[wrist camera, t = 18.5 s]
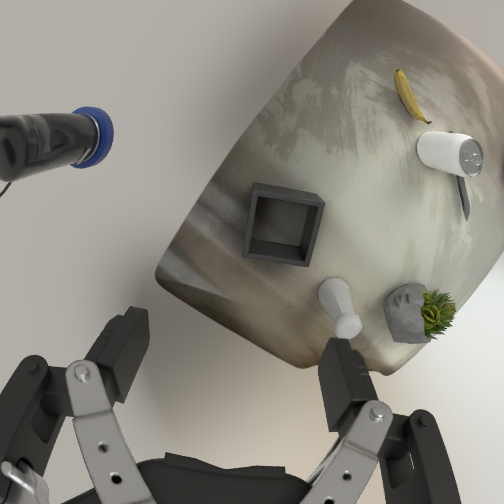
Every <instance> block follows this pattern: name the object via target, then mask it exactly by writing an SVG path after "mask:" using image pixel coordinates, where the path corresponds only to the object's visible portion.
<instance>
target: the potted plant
mask: <svg viewBox="0 0 504 504" xmlns="http://www.w3.org/2000/svg"><path fill="white" fill-rule="evenodd" d="M438 290H439V289H438ZM438 290H437V291H436V290H435V291H436V292H435V291H434V292H433V293H431V294H430V292H431V291H430V292H428V291H427V289H426V287H425V286H423V285H421V284H406V285H404V286H402V287H400V288H398V289H396V290H395V291H394V292H393V293H392V294H391V295H390V296H389V297H388V299H387V300H386V301H385V302H384V311H385V316H386V320H387V323H388V326H389V330H390V332H391V335H392V338H393V340H394V342H402V343H408V344H420V343H427V342H430V341H431V339H430V338H433V339H437V338H435V337H432V336H431V335H430V333H432V334H444V333H442V332H440V331H445V330H444V329H447V328H445V327H450V326H452V325H451V324H450V322H452V321H451V320H453V319H452V318H454V317H452V316H453V315H454V314H455V313H454V312H456V310H455V309H456V308H455V307H454V306H455V305H453V304H455V303H447V302H451V301H453V300H448V299H449V298H450V297H449V298H447V297H448V296H449V295H448V296H446V295H447V294H449V293H445V294H442V293H441V294H442V295H441V294H439V295H437V292H438ZM436 295H437V296H436ZM435 296H436V297H435ZM434 297H435V298H434ZM445 303H446V304H445ZM452 305H453V306H452ZM453 313H454V314H453ZM438 330H439V331H438Z"/></svg>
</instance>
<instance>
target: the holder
mask: <svg viewBox="0 0 504 504" xmlns="http://www.w3.org/2000/svg"><path fill="white" fill-rule="evenodd" d="M258 196H261V197H267V198H273V199H278V200H284V201H290V202H295V203H300V204H306V205H309V209H308V213H307V218H306V222H305V227H304V231H303V235H302V239H301V243H300V247H298V246H292V245H286V244H280V243H274V242H268V241H262V240H256V239H251V233H252V228H253V222H254V216H255V210H256V204H257V199H258ZM324 205H325V202H324V201H323V200H322V199H321V198H320V197H319V196H318V195H317V194H314V193H309V192H304V191H299V190H294V189H288V188H283V187H277V186H272V185H266V184H260V183H254V185H253V190H252V196H251V203H250V209H249V215H248V221H247V227H246V233H245V239H244V246H243V253H242V257H245V258H252V259H258V260H264V261H271V262H277V263H284V264H290V265H296V266H304V267H309V264H310V261H311V257H312V253H313V249H314V245H315V242H316V238H317V234H318V230H319V226H320V222H321V218H322V214H323V209H324Z"/></svg>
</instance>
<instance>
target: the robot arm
mask: <svg viewBox="0 0 504 504" xmlns="http://www.w3.org/2000/svg"><path fill="white" fill-rule="evenodd" d="M100 142H101V127H100V124H99V122H98V120H97V119H96V118H95V117H94V116H93V115H91V114H88V113H79V114H75V113H70V114H69V113H51V114H27V115H7V116H0V180H2V181H4V182H9V183H8V184H7V186H6V187H5V188H4V190H3V191H2V192H1V193H0V197H1V196H2V195H3V194H4V193H5V191H6V190H7V189H8V187H9V186H10V185H11V183H12V182H13V181H17V180H20V179H23V178H26V177H29V176H32V175H35V174H38V173H41V172H45V171H48V170H52V169H55V168H59V167H62V166H66V165H70V164H74V163H77V164H80V163H81V162H84V161H87V160H89V159H90V158H92V157H93V156H94V155H95V153H96V152H97V150H98V148H99V145H100ZM77 164H76V165H77ZM148 321H149V320H148V311H147V310H146V309H142V308H137V307H133V306H130V307H129V308H128V310H127V312H126V313H125V315H124V316H121V315H117V316H115V317H114V318H112V319H111V320H109V322H108V323H107V325H106V326H105V328H104V330H103V331H102V332H101V334H100V336H99V337H98V338H97V340H96V341H95V343H94V344H93V346H92V347H91V349H90V350H89V352H88V353H87V355H86V357H85V358H84V359H83V360H77V361H75V362H73V363H71V364H70V365H69V366H68V367H67V368H63V367H52V366H48V364H47V361H46V360H45V359H44V358H43V357H41V356H38V355H31V356H28V357H26V358H24V359H23V360H22V361H21V363H20V364H19V366H18V367H17V369H16V370H15V372H14V373H13V375H12V376H11V378H10V379H9V381H8V383H7V384H6V386H5V388H4V389H3V391H2V392H1V394H0V504H49V500H48V497H49V489H48V485H47V483H46V481H45V480H44V479H43V475H44V471H45V469H46V466H47V463H48V460H49V458H50V455H51V452H52V450H53V447H54V444H55V442H56V439H57V437H58V434H59V432H60V429H61V427H62V425H63V422H64V420H65V417H66V416H70V417H74V419H72V420H73V426H74V430H75V433H76V437H77V440H78V443H79V446H80V450H81V453H82V456H83V459H84V462H85V464H86V467H87V470H88V472H89V475H90V478H91V480H92V483H93V485H94V488H92V489H90V490H88V491H86V492H85V493H82V494H80V495H78V496H76V497H74V498H72V499H70V500H68V501H66V502H64V503H61V504H356V502H357V500H358V499H359V497H360V495H361V494H362V492H363V490H364V488H365V487H366V485H367V483H368V481H369V479H370V477H371V476H372V474H373V472H374V470H375V468H376V466H377V464H378V461H379V463H380V468H381V475H382V480H383V487H384V492H385V500H386V504H461V500H460V496H459V492H458V488H457V484H456V480H455V477H454V474H453V470H452V467H451V463H450V460H449V457H448V454H447V451H446V448H445V445H444V442H443V439H442V436H441V434H440V431H439V428H438V425H437V423H436V420H435V418H434V416H433V415H432V414H431V413H430V412H428V411H426V410H422V409H419V410H415V411H414V412H413V413H412V414H411V415H410V416H404V415H399V414H394V413H392V410H391V409H390V407H389V406H388V405H386V404H385V403H384V402H381V401H379V400H378V397H377V394H376V391H375V388H374V386H373V383H372V380H371V378H370V376H369V372H368V369H366V364H365V362H364V359H363V357H362V356H361V355H360V354H359V353H358V352H357V351H356V350H352V349H351V346H350V343H349V341H348V339H346V338H330V339H329V341H328V343H327V345H326V348H325V350H324V352H323V354H322V357H321V359H320V361H319V365H318V376H319V381H320V386H321V391H322V396H323V402H324V407H325V412H326V418H327V423H328V429H329V432H338V434H339V437H338V438H337V440H336V441H335V443H334V444H333V446H332V447H331V449H330V450H329V451H328V453H327V454H326V456H325V457H324V458H323V460H322V461H321V463H320V464H319V465H318V467H317V468H316V469H315V471H314V472H313V473H312V474H311V475H310V476H309V477H308V479H307V480H306V481H304V480H302V479H300V478H298V477H296V476H293V475H290V474H287V473H285V467H280V466H279V467H278V466H275V467H274V466H250V467H242V468H234V469H223V468H220V467H217V466H214V465H211V464H208V463H206V462H203V461H201V460H198V459H196V458H191V457H186V456H181V455H176V454H172V453H167V452H166V453H165V458H158V459H150V460H145V461H142V462H139V463H137V464H136V462H135V460H134V458H133V456H132V454H131V451H130V449H129V447H128V445H127V443H126V441H125V438H124V436H123V434H122V431H121V429H120V427H119V424H118V422H117V419H116V416H115V414H114V411H113V409H112V408H113V406H114V403H115V401H117V402H120V403H124V402H125V399H126V397H127V394H128V392H129V390H130V387H131V385H132V383H133V380H134V378H135V375H136V373H137V371H138V369H139V367H140V364H141V362H142V360H143V357H144V355H145V353H146V351H147V348H148V345H149V340H150V334H149V322H148ZM410 454H411V457H410ZM411 458H412V461H411ZM412 462H413V465H412ZM413 466H414V469H413Z"/></svg>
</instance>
